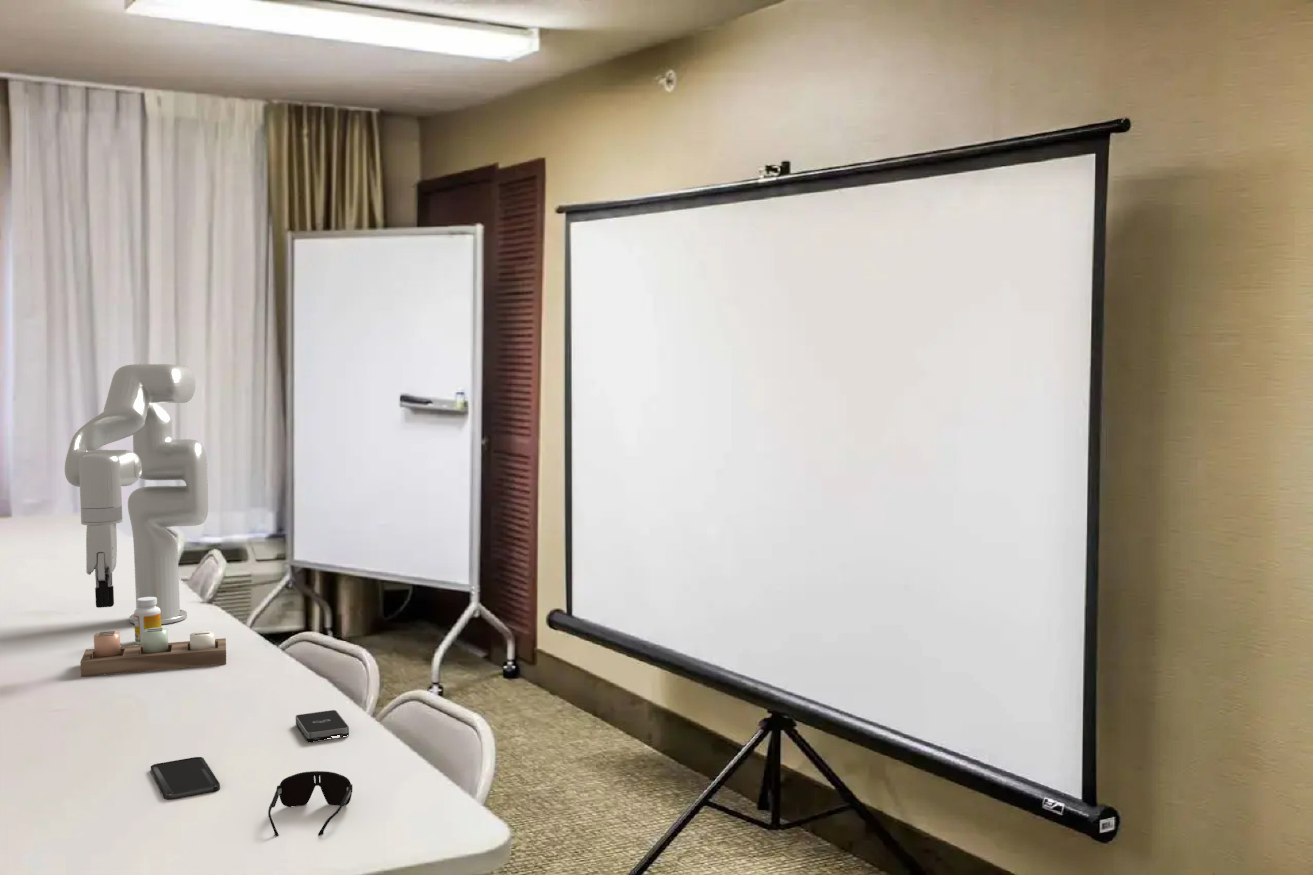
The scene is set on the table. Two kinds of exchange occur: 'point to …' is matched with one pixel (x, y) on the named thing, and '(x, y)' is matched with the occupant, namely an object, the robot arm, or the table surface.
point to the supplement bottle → (146, 617)
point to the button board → (152, 659)
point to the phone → (184, 778)
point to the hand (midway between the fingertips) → (105, 606)
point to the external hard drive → (321, 725)
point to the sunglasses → (301, 788)
